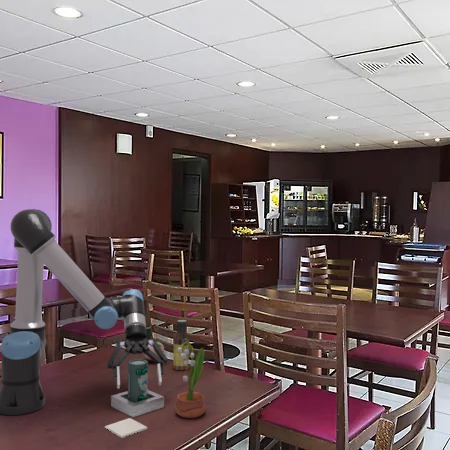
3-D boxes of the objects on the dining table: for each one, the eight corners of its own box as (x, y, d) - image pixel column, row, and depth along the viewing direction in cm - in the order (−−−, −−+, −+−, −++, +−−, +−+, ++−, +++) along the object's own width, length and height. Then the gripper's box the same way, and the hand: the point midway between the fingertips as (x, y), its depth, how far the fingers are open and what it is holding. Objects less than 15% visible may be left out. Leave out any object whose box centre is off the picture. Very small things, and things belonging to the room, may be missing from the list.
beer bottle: (154, 348, 239) (155, 297, 238) (144, 352, 232) (145, 300, 231) (140, 346, 243) (141, 296, 242) (130, 350, 236) (131, 298, 235)
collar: (133, 417, 161) (133, 406, 161) (111, 406, 170) (111, 395, 169) (163, 407, 170) (164, 396, 170) (141, 396, 178) (141, 387, 178)
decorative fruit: (138, 362, 217) (138, 339, 217) (148, 357, 225) (149, 335, 224) (156, 366, 213) (157, 342, 213) (167, 360, 221) (167, 338, 220)
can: (144, 410, 167) (145, 365, 166) (126, 410, 167) (127, 364, 166) (148, 403, 173) (148, 359, 172) (130, 402, 173) (130, 359, 172)
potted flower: (190, 425, 156) (191, 344, 155) (164, 417, 162) (165, 339, 161) (211, 412, 166) (213, 336, 166) (186, 405, 172) (188, 331, 171)
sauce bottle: (185, 371, 207) (186, 323, 206) (171, 370, 208) (172, 322, 208) (190, 366, 213) (191, 319, 213) (175, 365, 215) (176, 318, 214)
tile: (121, 438, 146) (121, 436, 146) (104, 428, 153) (104, 426, 153) (147, 429, 153) (147, 427, 153) (129, 419, 159) (129, 417, 159)
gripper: (168, 332, 188) (175, 387, 174) (99, 336, 181) (100, 393, 167) (171, 321, 183) (178, 376, 169) (99, 325, 176) (101, 382, 162)
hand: (139, 385), depth 168 cm, fingers open, 13 cm apart
